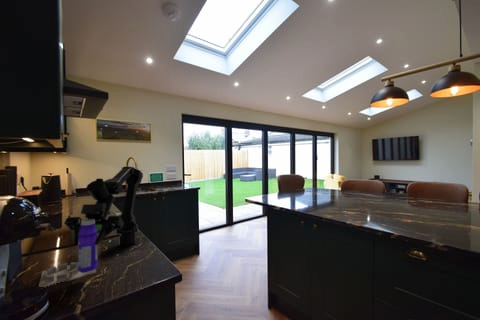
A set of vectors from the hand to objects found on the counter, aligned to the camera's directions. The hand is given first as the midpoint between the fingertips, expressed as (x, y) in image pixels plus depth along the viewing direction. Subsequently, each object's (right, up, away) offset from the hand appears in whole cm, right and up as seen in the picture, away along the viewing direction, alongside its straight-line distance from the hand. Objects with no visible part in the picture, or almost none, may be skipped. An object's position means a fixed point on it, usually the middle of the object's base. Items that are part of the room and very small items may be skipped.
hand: (85, 244), depth 74 cm
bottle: (0, -9, +1) cm, 9 cm away
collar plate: (-11, -13, +6) cm, 18 cm away
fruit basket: (-34, -14, +59) cm, 70 cm away
